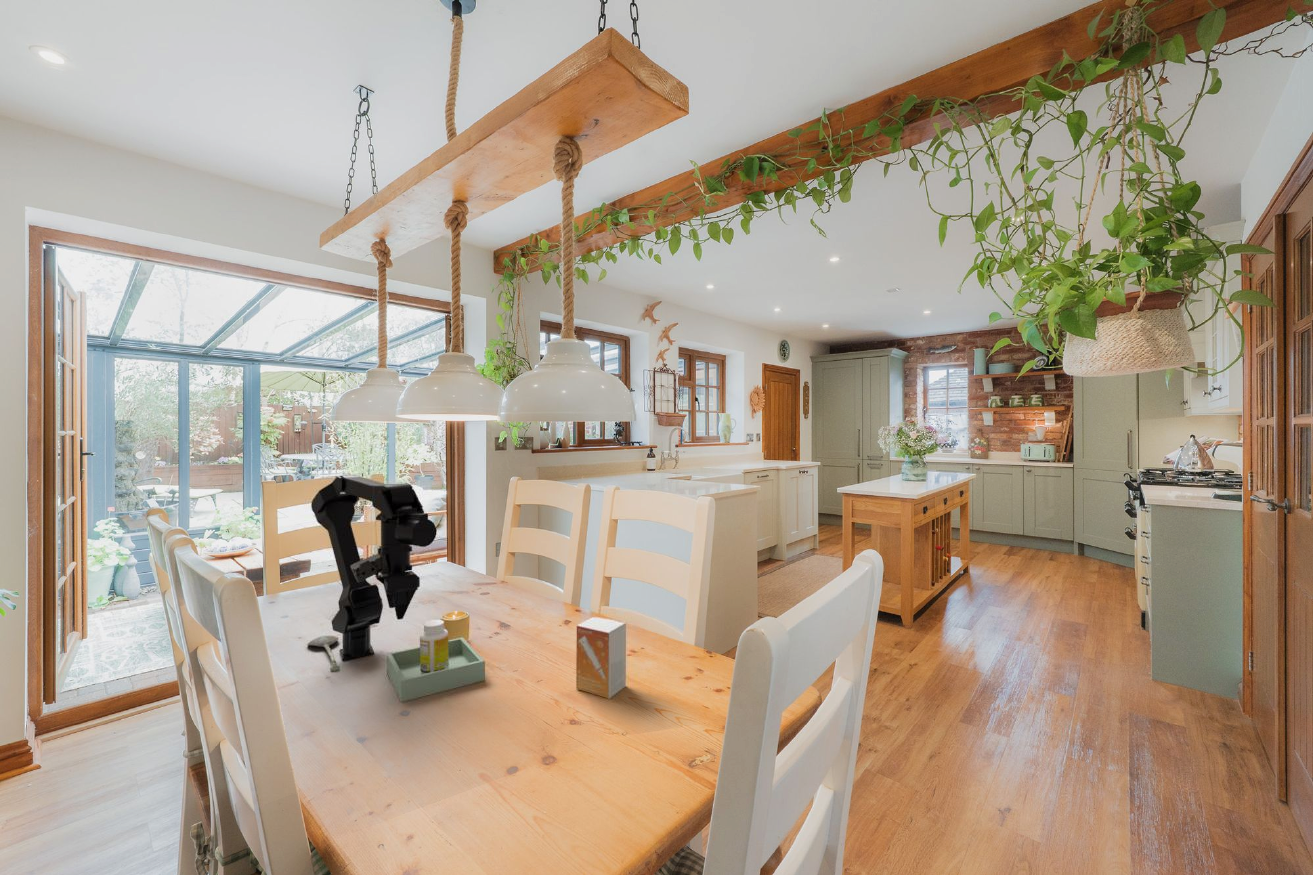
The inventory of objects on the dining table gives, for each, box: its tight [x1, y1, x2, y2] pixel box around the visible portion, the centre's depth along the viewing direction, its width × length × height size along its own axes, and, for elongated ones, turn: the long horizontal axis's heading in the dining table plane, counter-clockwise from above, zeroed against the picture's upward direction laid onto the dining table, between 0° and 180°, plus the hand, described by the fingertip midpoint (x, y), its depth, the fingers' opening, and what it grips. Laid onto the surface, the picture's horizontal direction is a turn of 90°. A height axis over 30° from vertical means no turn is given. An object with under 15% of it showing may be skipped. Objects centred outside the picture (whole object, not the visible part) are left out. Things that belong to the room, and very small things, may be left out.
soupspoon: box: [306, 635, 341, 672], centre depth 127 cm, size 22×3×7 cm
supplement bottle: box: [419, 619, 449, 674], centre depth 115 cm, size 6×6×10 cm
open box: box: [386, 637, 486, 703], centre depth 115 cm, size 16×16×4 cm
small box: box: [575, 616, 627, 700], centre depth 110 cm, size 8×6×13 cm
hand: (395, 613), depth 119 cm, fingers open, 9 cm apart
